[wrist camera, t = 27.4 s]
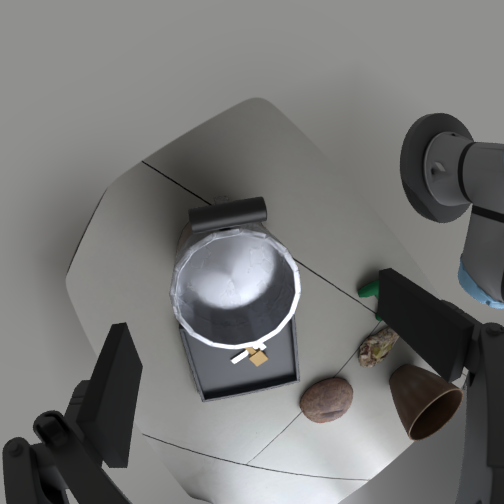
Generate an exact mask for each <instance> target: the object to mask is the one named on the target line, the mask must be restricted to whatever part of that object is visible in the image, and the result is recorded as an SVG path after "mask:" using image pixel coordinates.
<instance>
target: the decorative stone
mask: <svg viewBox="0 0 504 504" xmlns="http://www.w3.org/2000/svg"><path fill="white" fill-rule="evenodd" d="M352 399H353V389H352V387H351V385H350V384H349V383H348V382H346V381H345V380H344V379H340V378H331V379H326V380H324V381H321V382H319V383H316V384H315V385H313V386H312V387H310V388H309V389H308V390H307V391H306V392H305V394H304V395H303V396H302V398H301V401H300V408H301V410H302V412H303V414H304V415H305V416H306V417H307V418H308V419H310V420H311V421H313V422H316V423H325V422H330V421H333V420H335V419H337V418H339V417H341V416H342V415H343V414H345V413H346V411H347V410H348V409H349V407H350V405H351V403H352Z"/></svg>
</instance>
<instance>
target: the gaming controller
mask: <svg viewBox="0 0 504 504" xmlns="http://www.w3.org/2000/svg"><path fill="white" fill-rule="evenodd" d="M378 292H379V280H376V281H373V282H372V283H370V284H368V285H366V286H364V287H363V288H362V289H360V290H359V291H358V295H359V297H369V296H372V295H375V296H376V297H377V299H378ZM376 319H377V320H378V321H382V319H381V318H380V317H379V316H378V312H377V314H376Z"/></svg>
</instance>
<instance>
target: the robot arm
mask: <svg viewBox="0 0 504 504" xmlns="http://www.w3.org/2000/svg"><path fill="white" fill-rule="evenodd" d="M422 178H423V182H424V185H425V188H426V190H427V192H428V194H429V195H430V196H431V198H432V199H433V200H434V201H436V202H437V203H439V204H442V205H446V206H457V205H460V204H466V203H473V206H472V211H471V217H470V222H469V227H468V232H467V237H466V241H465V246H464V250H463V253H462V254H461V257H460V267H459V271H458V279H459V283H460V285H461V286H462V288H463V289H464V290H465V291H466V292H467V293H468V294H469V295H471V296H472V297H473V298H475V299H476V300H478V301H480V302H481V303H486V304H487V305H489V306H491V307H493V308H499V309H501V308H504V144H498V143H484V142H473V141H471V140H469V139H467V138H465V137H463V136H461V135H459V134H457V133H454V132H440V133H437V134H435V135H434V136H433V137H432V138H431V139H430V140H429V141H428V143H427V145H426V147H425V149H424V152H423V157H422ZM378 316H379V317H380V318H381V319H382V320H383V321H384V322H385V323H386V324H387V325H388V326H389V327H390V328H391V329H393V330H394V331H395V332H396V333H397V334H398V335H399V336H400V337H401V338H402V339H403V340H404V341H405V342H406V343H407V344H408V345H409V346H410V347H411V348H412V349H413V350H414V351H416V352H417V353H418V354H419V355H420V356H421V357H422V358H423V359H424V360H425V361H426V362H427V363H428V364H429V365H430V366H431V367H432V368H433V369H434V370H435V371H436V372H437V373H438V374H439V375H440V376H441V377H442V378H443V379H444V380H445V381H446V382H447V383H448V384H449V383H451V382H453V381H454V380H456V379H458V378H460V377H461V374H462V371H463V368H464V367H466V368H467V369H468V370H469V371H468V374H467V377H466V380H465V383H464V386H463V389H464V390H465V388H466V386H467V410H466V411H467V412H466V430H465V442H464V453H463V462H462V469H461V477H460V482H459V488H458V494H457V500H456V504H504V327H503V326H502V325H500V324H497V323H486V324H482V323H480V322H479V321H477V320H476V319H475V318H473V317H472V316H470V315H469V314H467V313H464V311H463V310H461V309H459V308H458V307H457V306H455V305H454V304H452V303H450V302H447V301H445V300H439V299H438V298H436V297H435V296H433V295H432V294H430V293H429V292H427V291H426V290H424V289H423V288H421V287H420V286H418V285H416V284H415V283H413V282H412V281H410V280H409V279H407V278H406V277H404V276H403V275H401V274H400V273H398V272H396V271H395V270H393V269H392V268H388V269H384V270H380V271H379V292H378ZM142 368H143V366H142V363H141V361H140V358H139V356H138V353H137V351H136V348H135V345H134V343H133V340H132V337H131V335H130V332H129V329H128V326H127V324H126V322H125V323H119V324H112V326H111V328H110V331H109V333H108V336H107V338H106V340H105V343H104V345H103V348H102V350H101V353H100V355H99V358H98V360H97V363H96V366H95V368H94V371H93V374H92V376H91V379H90V380H82V381H81V382H80V383H79V384H78V385H77V387H76V388H75V389H74V392H73V394H72V398H71V400H70V402H69V405H68V407H67V410H66V413H65V415H64V416H63V415H62V414H61V413H60V412H58V411H55V410H53V411H47V412H44V413H42V414H41V415H40V416H38V417H37V418H36V420H35V421H34V425H33V430H34V432H35V434H36V435H37V436H38V438H39V439H40V440H41V441H42V443H38V444H34V445H30V444H29V443H28V442H27V441H26V440H25V439H24V438H21V437H16V438H13V439H11V440H9V441H8V442H7V443H6V444H5V446H4V448H3V474H4V485H5V495H6V503H7V504H69V501H68V498H67V494H66V491H65V489H70V491H71V492H72V494H73V495H74V497H75V498H76V500H77V501H78V503H79V504H132V503H131V502H130V501H129V500H128V498H127V497H126V496H125V495H124V494H123V493H122V492H121V490H120V489H119V488H118V487H117V486H116V485H115V484H114V482H113V481H112V480H111V479H110V477H109V476H108V475H107V474H106V473H105V472H104V470H103V469H102V468H101V467H102V461H103V460H104V462H105V463H106V464H107V465H108V467H109V468H127V466H128V457H129V449H130V442H131V435H132V428H133V421H134V414H135V408H136V402H137V396H138V390H139V384H140V379H141V373H142Z"/></svg>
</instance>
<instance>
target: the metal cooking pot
mask: <svg viewBox="0 0 504 504" xmlns="http://www.w3.org/2000/svg"><path fill="white" fill-rule="evenodd" d="M214 202H215V205H209V206H204V207H198V208H193V209H189V210H188V212H189V219H190V225H191V230H192V233H193V234H192V235H191V236H190V237H189V238H188V239H187V240H186V242H185V243H184V244H183V246H182V247H181V249H180V251H179V253H178V254H177V256H176V259H175V265H174V270H173V276H172V282H171V287H170V293H169V294H170V299H171V303H172V306H173V310H174V314H175V317H176V319H177V320H178V321H179V322H180V324H181V325H182V326H183V327H184V328H185V330H186V331H187V332H188V333H189V334H190V335H191V336H192V337H194V338H196V339H198V340H200V341H202V342H203V343H205V344H207V345H209V346H212V347H218V348H225V349H233V350H234V349H235V350H236V349H241V348H246V347H251V346H256V345H259V344H261V343H263V342H264V341H266V340H268V339H269V338H271V337H273V336H274V335H276V334H278V332H280V331H281V329H282V328H283V327H284V326H285V325H286V323H287V322H288V321H289V320H290V319H291V317H292V316H293V314H294V312H295V309H296V306H297V303H298V300H299V297H300V294H301V293H300V292H301V286H300V275H299V268H298V267H297V265H296V263H295V261H294V260H293V258H292V256H291V254H290V253H289V251H288V249H287V248H286V247H285V246H284V245H283V244H282V243H281V242H280V241H279V240H278V239H277V238H276V237H275V236H274V235H272V234H271V233H269V232H268V231H267V230H266V229H264V228H262V227H261V226H260V225H258V224H255V223H256V222H262V221H266V219H267V211H266V205H265V201H264V199H263V197H256V198H250V199H244V200H238V201H232V202H230V201H229V200H228V199H227V197H226V196H223V197H217V198H214Z"/></svg>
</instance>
